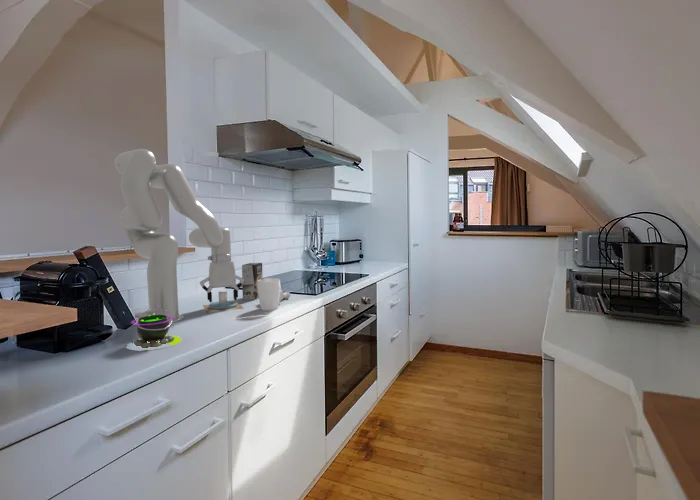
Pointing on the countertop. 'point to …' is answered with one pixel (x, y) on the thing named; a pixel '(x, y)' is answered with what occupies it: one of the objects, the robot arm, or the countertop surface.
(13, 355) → the countertop surface
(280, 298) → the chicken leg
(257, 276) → the coffee box
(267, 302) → the cup
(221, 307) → the lid
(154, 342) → the toy cauldron
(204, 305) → the board
